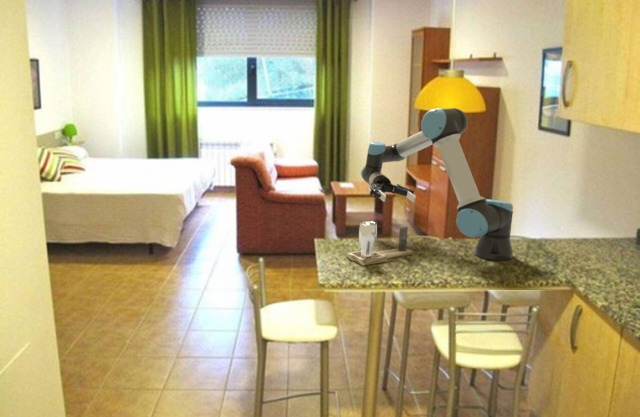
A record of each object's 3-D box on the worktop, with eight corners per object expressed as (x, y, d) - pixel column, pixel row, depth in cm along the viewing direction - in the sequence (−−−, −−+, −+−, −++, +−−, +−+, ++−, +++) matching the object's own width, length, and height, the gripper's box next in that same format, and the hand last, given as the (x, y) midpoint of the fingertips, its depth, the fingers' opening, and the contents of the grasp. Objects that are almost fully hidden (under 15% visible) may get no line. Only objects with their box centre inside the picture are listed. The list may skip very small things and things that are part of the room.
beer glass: (363, 263, 233) (365, 226, 230) (354, 258, 239) (356, 221, 236) (378, 261, 236) (380, 224, 233) (369, 256, 242) (371, 220, 239)
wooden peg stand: (416, 256, 244) (418, 228, 241) (363, 265, 230) (364, 236, 227) (399, 249, 253) (400, 222, 251) (346, 257, 239) (347, 229, 237)
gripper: (403, 191, 273) (424, 208, 254) (352, 189, 264) (370, 206, 246) (406, 175, 270) (428, 191, 251) (355, 173, 262) (373, 189, 243)
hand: (399, 199), depth 248 cm, fingers open, 13 cm apart
